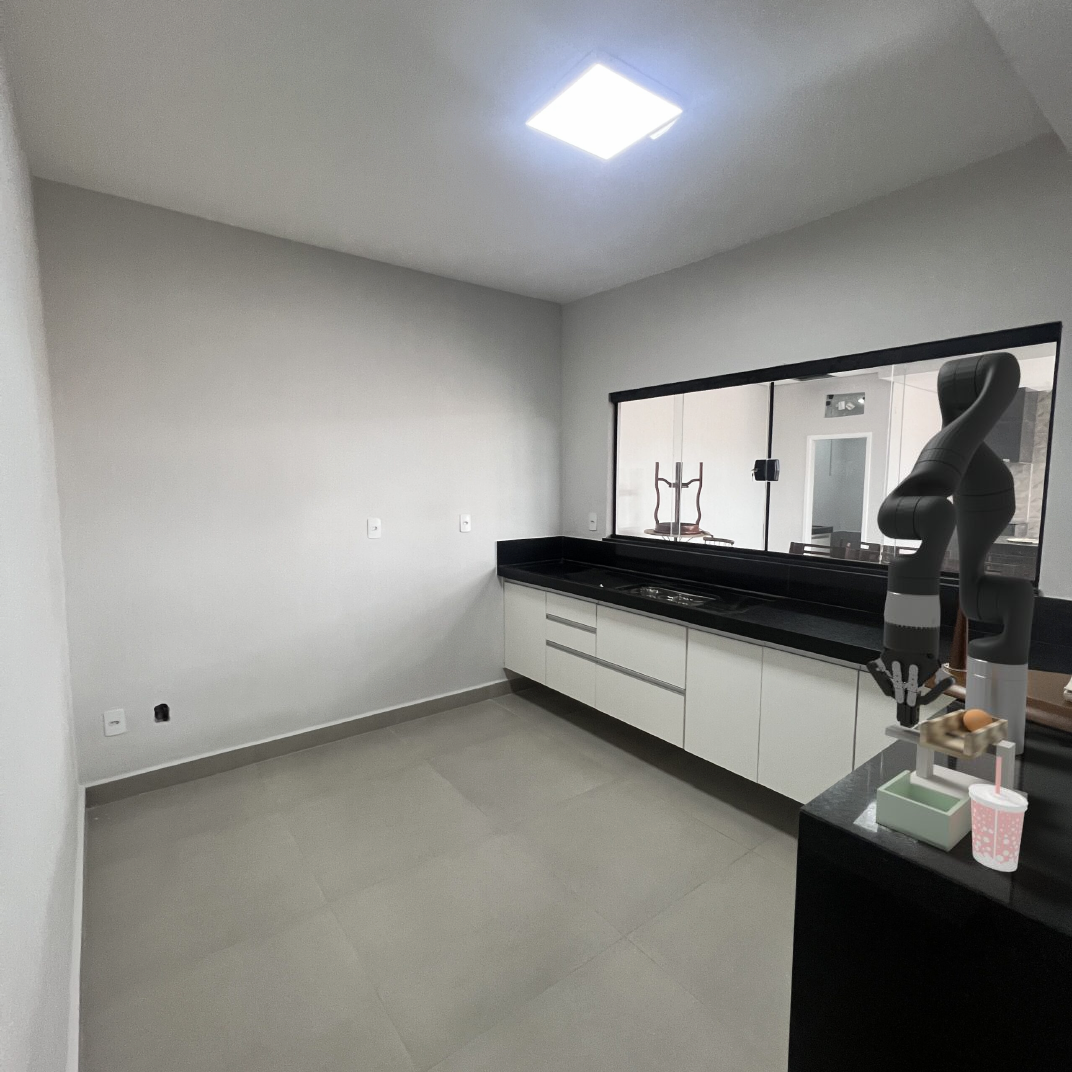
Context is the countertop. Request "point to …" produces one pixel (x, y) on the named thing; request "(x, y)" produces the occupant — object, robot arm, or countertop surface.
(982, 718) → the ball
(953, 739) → the tipping chute
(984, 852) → the beverage cup
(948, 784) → the pivot stand
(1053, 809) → the countertop surface
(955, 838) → the cup
